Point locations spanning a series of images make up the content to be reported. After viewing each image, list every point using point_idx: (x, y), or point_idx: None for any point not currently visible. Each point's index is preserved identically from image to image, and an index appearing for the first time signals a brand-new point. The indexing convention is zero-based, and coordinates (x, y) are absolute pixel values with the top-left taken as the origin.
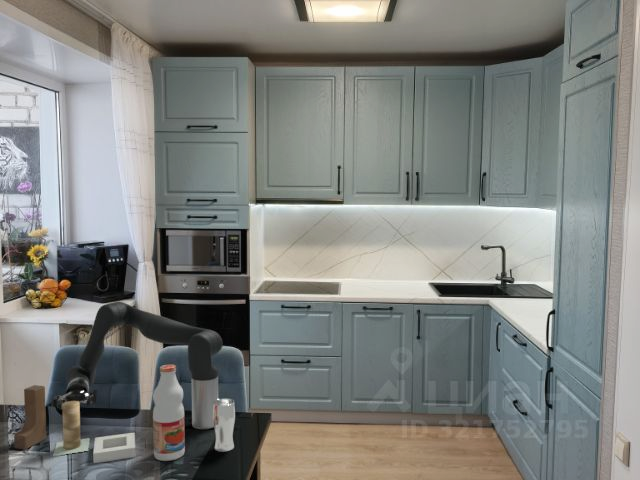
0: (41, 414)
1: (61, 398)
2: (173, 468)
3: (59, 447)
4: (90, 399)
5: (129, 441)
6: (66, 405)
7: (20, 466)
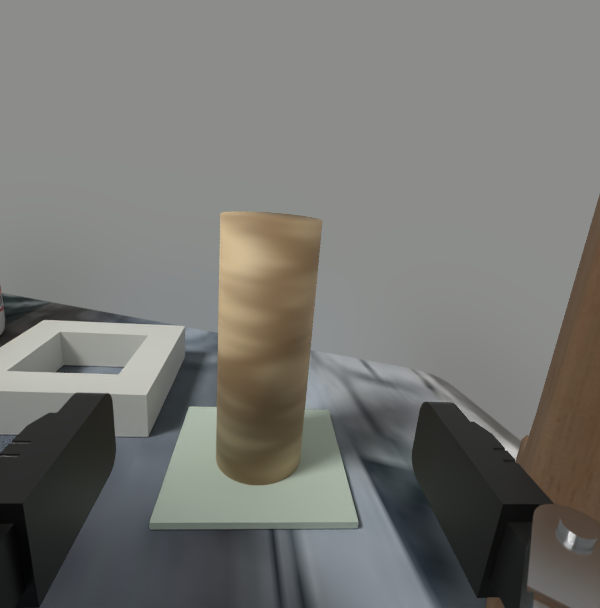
0: (540, 413)
1: (581, 570)
2: (5, 306)
3: (321, 460)
4: (9, 455)
5: (29, 344)
6: (294, 216)
7: (420, 393)
